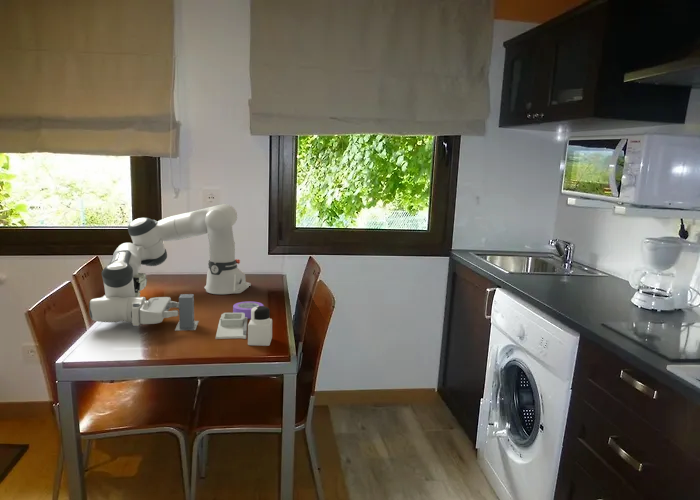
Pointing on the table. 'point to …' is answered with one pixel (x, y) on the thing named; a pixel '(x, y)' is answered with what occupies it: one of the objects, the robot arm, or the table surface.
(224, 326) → the holder
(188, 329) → the grey rectangular plate
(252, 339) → the medicine bottle
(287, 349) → the table surface
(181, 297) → the clip
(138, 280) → the pneumatic valve
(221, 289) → the robot arm
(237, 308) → the masking tape
